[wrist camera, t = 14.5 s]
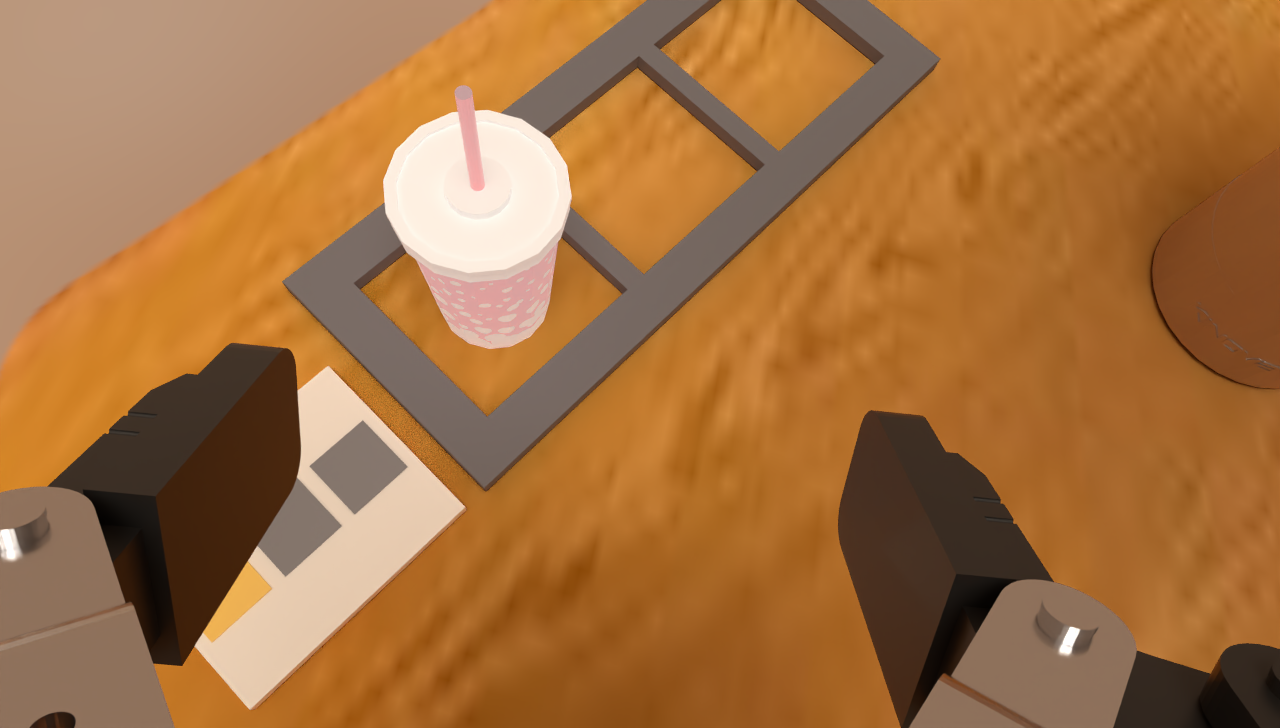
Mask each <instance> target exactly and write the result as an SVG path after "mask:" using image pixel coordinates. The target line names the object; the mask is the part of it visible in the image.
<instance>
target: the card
mask: <svg viewBox="0 0 1280 728" xmlns="http://www.w3.org/2000/svg"><path fill="white" fill-rule="evenodd" d="M298 407H299V422H300V438H301V459H300V466H299V471H298V475H297V479H296V482H295V485H294V487H293V489H292V491H291V493H290V495H289V496H288V498H287V499H286V501H285V503H284V504H283V506H282V507H281V509H280V511H279V512H278V514H277V515H276V517H275V518H274V520H273V522H272V523H271V525H270V526H269V528H268V530H267V531H266V533H265V534H264V536H263V538H262V539H261V541H260V542H259V544H258V546H257V547H256V549H255V550H254V552H253V554H252V555H251V557H250V558H249V560H248V562H247V563H246V565H245V566H244V568H243V570H242V571H241V573H240V574H239V576H238V578H237V579H236V581H235V582H234V584H233V585H232V587H231V589H230V590H229V592H228V593H227V595H226V597H225V598H224V600H223V601H222V603H221V605H220V606H219V608H218V609H217V611H216V613H215V614H214V616H213V617H212V619H211V621H210V622H209V624H208V625H207V627H206V629H205V630H204V632H203V633H202V635H201V637H200V638H199V640H198V641H197V643H196V645H195V647H196V648H197V649H198V651H199V652H200V653H201V654H202V655H203V656H204V658H205V659H206V660H207V661H208V662H209V663H210V664H211V666H212V667H213V668H214V669H215V670H216V671H217V673H218V674H219V675H220V676H221V677H222V678H223V680H224V681H225V682H226V683H227V684H228V685H229V686H230V688H231V689H232V690H233V691H234V692H235V693H236V695H237V696H238V697H239V698H240V699H241V700H242V702H243V703H244V704H245V705H246V706H247V707H248V708H249V710H253V709H256V708H257V707H258V706H259V705H260V704H261V703H262V702H263V701H265V700H266V699H267V698H268V697H269V696H270V695H271V694H272V693H273V692H274V691H275V690H276V689H277V688H278V687H279V686H280V685H282V684H283V683H284V682H285V681H286V680H287V679H288V678H289V677H290V676H291V675H292V674H293V673H294V672H295V671H296V670H297V669H298V668H300V667H301V666H302V665H303V664H304V663H305V662H306V661H307V660H308V659H309V658H310V657H311V656H312V655H313V654H314V653H315V652H317V651H318V650H319V649H320V648H321V647H322V646H323V645H324V644H325V643H326V642H327V641H328V640H329V639H330V638H331V637H332V636H333V635H335V634H336V633H337V632H338V631H339V630H340V629H341V628H342V627H343V626H344V625H345V624H346V623H347V622H348V621H349V620H350V619H351V618H353V617H354V616H355V615H356V614H357V613H358V612H359V611H360V610H361V609H362V608H363V607H364V606H365V605H366V604H367V603H368V602H370V601H371V600H372V599H373V598H374V597H375V596H376V595H377V594H378V593H379V592H380V591H381V590H382V589H383V588H384V587H385V586H386V585H388V584H389V583H390V582H391V581H392V580H393V579H394V578H395V577H396V576H397V575H398V574H399V573H400V572H401V571H402V570H403V569H405V568H406V567H407V566H408V565H409V564H410V563H411V562H412V561H413V560H414V559H415V558H416V557H417V556H418V555H419V554H420V553H421V552H423V551H424V550H425V549H426V548H427V547H428V546H429V545H430V544H431V543H432V542H433V541H434V540H435V539H436V538H437V537H438V536H439V535H441V534H442V533H443V532H444V531H445V530H446V529H447V528H448V527H449V526H450V525H451V524H452V523H453V522H454V521H455V520H456V519H458V518H459V517H460V516H461V515H462V514H463V513H464V512H465V511H466V510H467V509H466V507H465V506H464V505H463V504H462V503H461V502H460V501H459V500H458V499H457V498H456V497H455V496H454V495H453V494H452V493H451V492H450V491H449V490H448V489H447V488H446V487H445V486H444V485H443V484H442V482H441V481H440V480H439V479H438V478H437V477H436V476H435V475H434V474H433V473H432V472H431V471H430V470H429V469H428V468H427V467H426V466H425V465H424V464H423V463H422V462H421V461H420V460H419V459H418V458H417V457H416V456H415V455H414V454H413V453H412V452H411V451H410V450H409V448H408V447H407V446H406V445H405V444H404V443H403V442H402V441H401V440H400V439H399V438H398V437H397V436H396V435H395V434H394V433H393V432H392V431H391V430H390V429H389V428H388V427H387V426H386V425H385V424H384V423H383V422H382V421H381V420H380V419H379V418H378V417H377V416H376V415H375V413H374V412H373V411H372V410H371V409H370V408H369V407H368V406H367V405H366V404H365V403H364V402H363V401H362V400H361V399H360V398H359V397H358V396H357V395H356V394H355V393H354V392H353V391H352V390H351V389H350V388H349V387H348V386H347V385H346V384H345V383H344V382H343V381H342V379H341V378H340V377H339V376H338V375H337V374H336V373H335V372H334V371H333V370H332V369H331V368H330V367H329V366H327V367H326V368H325V369H324V370H322V371H321V372H320V373H319V374H318V375H316V376H315V377H314V378H313V379H312V380H310V381H309V382H308V383H307V384H305V385H304V386H303V387H302V388H301V389H299V390H298Z"/></svg>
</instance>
